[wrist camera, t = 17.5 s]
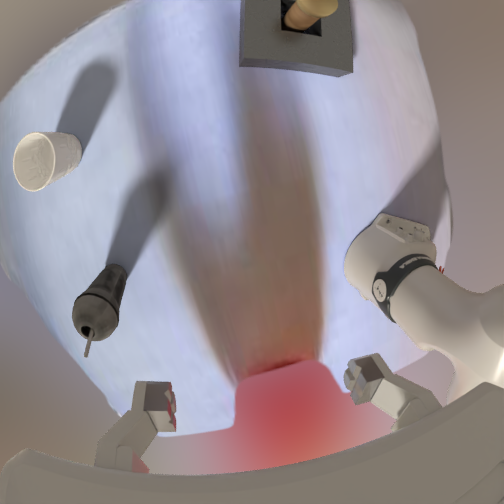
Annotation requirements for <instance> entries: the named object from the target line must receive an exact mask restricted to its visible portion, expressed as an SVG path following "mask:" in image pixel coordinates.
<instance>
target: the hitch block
mask: <svg viewBox="0 0 504 504" xmlns="http://www.w3.org/2000/svg"><path fill="white" fill-rule="evenodd" d="M337 1H338V8H337V10H336V11H335V12H333V13H332V14H331V15H329V16H328V17H325V18H320V19H318V20H317V21H316V22H315V23H314V24H313V25H311V26H310V27H309V34H303V33H297V32H290V31H282V30H281V12H285V13H287V12H288V10H289V9H290V8H291V7H292V5H293V4H294V3H295V2H296V0H241V9H240V52H239V67H261V68H275V69H286V70H295V71H303V72H310V73H317V74H323V75H329V76H334V77H341V76H344V75H347V74H350V73H353V49H352V31H351V18H350V7H349V0H337Z"/></svg>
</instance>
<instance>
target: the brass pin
mask: <svg viewBox="0 0 504 504" xmlns="http://www.w3.org/2000/svg"><path fill="white" fill-rule="evenodd" d="M337 8H338V1H337V0H296V2H295V3H294V4H293V5H292V7H291V8H290V9H289V10H288V12H287V13H286V14H285V15H284V17H283V18H282V19H281V30H282V31H290V32H297V33H303V32H304V31H306V30H307V29H308V28H309V27H310V26H311V25H313V24H314V23H315V22H316V21H317V20H318V19H320V18H325V17H328V16H329V15H331V14H332V13H333V12H335V11H336V10H337Z"/></svg>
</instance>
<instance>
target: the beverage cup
mask: <svg viewBox="0 0 504 504" xmlns="http://www.w3.org/2000/svg"><path fill="white" fill-rule="evenodd" d="M126 280H127V274H126V272H125V270H124V269H123V268H122V267H121V266H119V265H117V264H110V265H108V266H106V268H105V269H104V270H102V272H101V273H100V274H99V275H98V276H97V278H96V279H95V280H94V281H93V282H92V284H91V285H90V286H89V287H88V289H87V290H86V291H84V292H83V293H82V294H81V295H80V296H78V297H77V299H76V300H75V302H74V306H73V312H72V319H73V323H74V326H75V328H76V330H77V332H78V333H79V334H80V335H81V336H82V337H84V338H85V339H88V341H87V345H86V349H85V353H84V357H86V358H87V357H88V353H89V349H90V345H91V341H101V340H104V339H106V338H108V337H109V336H110V335H111V334H112V333H113V331H114V330H115V329H116V327H117V326H118V323H119V308H120V304H121V300H122V296H123V292H124V289H125V285H126Z"/></svg>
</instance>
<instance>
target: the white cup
mask: <svg viewBox="0 0 504 504" xmlns="http://www.w3.org/2000/svg"><path fill="white" fill-rule="evenodd" d="M81 156H82V147H81V144H80V141H79V140H78V139H77V138H76V137H75V136H74V135H72V134H68V133H61V132H32V133H29V134H27V135H26V136H25V137H24V138H23V139H22V140H21V141H20V142H19V144H18V146H17V148H16V150H15V153H14V158H13V169H14V174H15V177H16V179H17V181H18V183H19V184H20V185H21V186H22V187H23V188H24V189H26V190H28V191H38V190H40V189H42V188H44V187H46V186H48V185H50V184H51V183H53V182H55V181H57V180H59V179H60V178H62V177H64V176H65V175H67V174H69V173H71V172H72V171H73V170H74V169H75V168H77V167H78V164H79V162H80V160H81Z"/></svg>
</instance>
